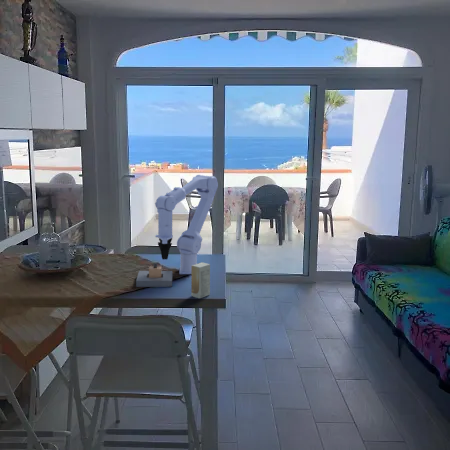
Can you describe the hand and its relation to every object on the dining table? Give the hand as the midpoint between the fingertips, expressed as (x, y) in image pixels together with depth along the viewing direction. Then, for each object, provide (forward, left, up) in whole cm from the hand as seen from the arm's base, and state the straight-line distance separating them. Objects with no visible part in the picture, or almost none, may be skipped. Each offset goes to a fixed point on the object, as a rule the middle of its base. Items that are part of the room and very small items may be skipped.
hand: (165, 256), depth 201 cm
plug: (+4, -4, -10) cm, 11 cm away
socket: (+4, -4, -9) cm, 11 cm away
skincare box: (+22, +14, -10) cm, 28 cm away
